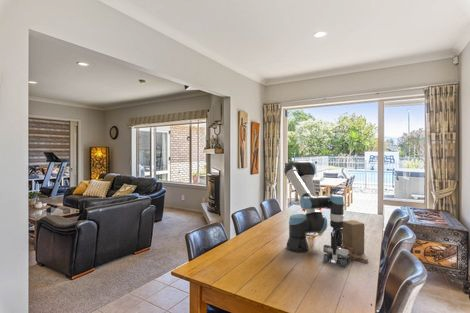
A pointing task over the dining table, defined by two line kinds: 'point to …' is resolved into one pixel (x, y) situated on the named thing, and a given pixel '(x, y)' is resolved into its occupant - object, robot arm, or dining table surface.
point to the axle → (340, 251)
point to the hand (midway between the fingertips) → (336, 258)
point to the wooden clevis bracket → (354, 255)
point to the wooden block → (353, 235)
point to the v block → (339, 262)
